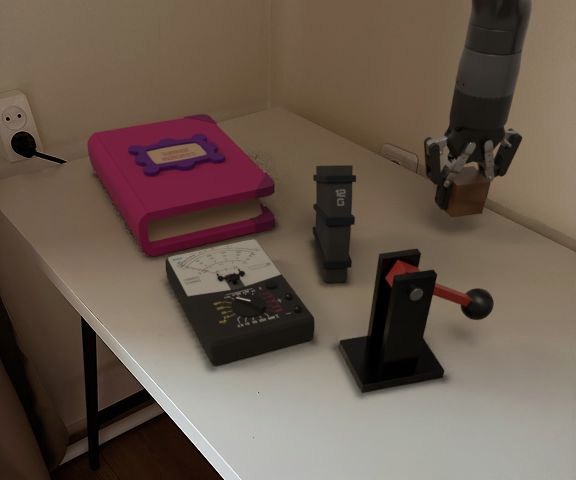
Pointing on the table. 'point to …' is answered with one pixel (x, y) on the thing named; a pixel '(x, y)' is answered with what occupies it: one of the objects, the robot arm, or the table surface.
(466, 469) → the table surface
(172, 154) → the book
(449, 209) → the block
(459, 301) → the lever
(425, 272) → the bracket
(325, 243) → the magazine
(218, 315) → the multimeter
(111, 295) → the table surface
